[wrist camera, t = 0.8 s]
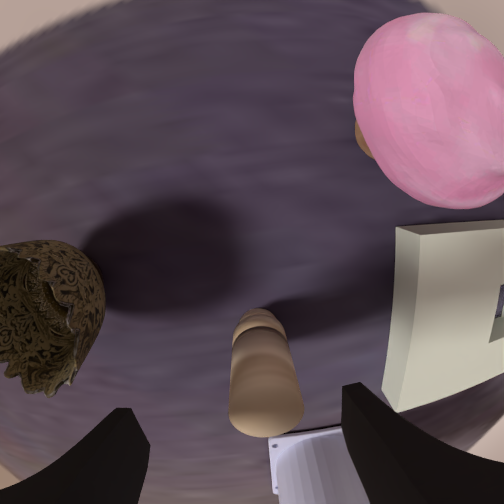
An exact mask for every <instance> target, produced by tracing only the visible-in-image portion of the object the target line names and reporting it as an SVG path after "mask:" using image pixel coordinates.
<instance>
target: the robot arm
mask: <svg viewBox="0 0 504 504" xmlns="http://www.w3.org/2000/svg"><path fill="white" fill-rule="evenodd" d="M268 442H269V453H270V464H271V475H272V487H273V493H274V494H279V504H504V463H503V462H498V461H493V460H489V459H486V458H482V457H479V456H476V455H473V454H470V453H467V452H465V451H462V450H459V449H457V448H455V447H452V446H450V445H448V444H446V443H444V442H442V441H440V440H438V439H436V438H434V437H433V436H431V435H429V434H427V433H426V432H424V431H422V430H421V429H419V428H418V427H416V426H415V425H413V424H412V423H410V422H409V421H407V420H406V419H405V418H403V417H402V416H401V415H399V414H398V413H397V412H395V411H394V410H393V409H391V408H390V407H389V406H388V405H386V404H385V403H384V402H383V401H382V400H380V399H379V398H378V397H377V396H376V395H375V394H373V393H372V392H371V391H370V390H369V389H368V388H367V387H366V386H364V385H363V384H362V383H361V382H358V383H354V384H350V385H345V386H342V417H341V426H337V427H332V428H326V429H320V430H314V431H307V432H300V433H292V434H284V435H277V436H273V437H270V438H269V439H268ZM274 444H276V445H274ZM149 453H150V444H149V442H148V440H147V438H146V436H145V434H144V433H143V431H142V429H141V427H140V425H139V423H138V421H137V419H136V417H135V415H134V413H133V411H132V409H131V408H116V409H114V410H113V411H112V412H111V413H110V414H109V415H108V416H106V417H105V418H104V419H103V420H102V421H101V422H100V423H99V424H98V425H97V426H96V427H95V428H94V429H93V430H92V431H90V432H89V433H88V434H87V435H86V436H85V437H84V438H83V439H82V440H81V441H79V442H78V443H77V444H76V445H75V446H74V447H72V448H71V449H70V450H69V451H68V452H66V453H65V454H64V455H63V456H61V457H60V458H59V459H58V460H56V461H55V462H53V463H52V464H51V465H49V466H48V467H46V468H44V469H43V470H41V471H40V472H38V473H36V474H35V475H33V476H31V477H29V478H27V479H25V480H23V481H21V482H19V483H17V484H14V485H12V486H10V487H7V488H4V489H1V490H0V504H138V501H139V497H140V493H141V490H142V486H143V483H144V479H145V475H146V472H147V468H148V461H149Z"/></svg>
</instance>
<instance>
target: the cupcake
mask: <svg viewBox="0 0 504 504" xmlns="http://www.w3.org/2000/svg"><path fill="white" fill-rule="evenodd" d="M353 105H354V112H355V116H356V122H355V136H356V140H357V143H358V145H359V146H360V148H361V149H362V150H363V151H364V152H365V153H366V154H367V155H368V156H369V157H371V158H372V159H375V160H376V162H377V163H378V165H379V166H380V168H381V169H382V171H383V172H384V173H385V175H386V176H387V177H388V179H389V180H390V181H391V182H392V183H393V184H394V185H396V186H397V187H399V188H400V189H401V190H403V191H404V192H406V193H407V194H408V195H410V196H411V197H413V198H414V199H416V200H418V201H421V202H423V203H425V204H428V205H432V206H436V207H444V208H451V209H471V208H477V207H481V206H483V205H486V204H488V203H490V202H492V201H493V200H495V199H497V198H498V197H499V196H501V195H502V194H503V193H504V57H503V56H502V54H501V53H500V52H499V50H498V49H497V48H496V47H495V46H494V45H493V44H492V43H491V42H490V41H489V40H488V39H487V38H485V37H484V36H482V35H480V34H479V33H478V32H477V31H476V30H475V29H474V28H473V27H472V26H471V25H470V24H469V23H467V22H466V21H464V20H462V19H460V18H457V17H454V16H450V15H446V14H439V13H418V14H413V15H408V16H403V17H399V18H396V19H394V20H392V21H390V22H388V23H386V24H385V25H383V26H382V27H380V28H379V29H377V30H376V31H375V33H374V34H373V35H372V36H371V37H370V38H369V39H368V40H367V42H366V43H365V45H364V47H363V49H362V50H361V52H360V54H359V56H358V59H357V62H356V66H355V72H354V95H353Z"/></svg>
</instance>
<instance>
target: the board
mask: <svg viewBox="0 0 504 504" xmlns="http://www.w3.org/2000/svg"><path fill="white" fill-rule="evenodd" d="M503 284H504V220H489V221H472V222H456V223H441V224H426V225H412V226H397V227H396V248H395V276H394V293H393V306H392V317H391V326H390V335H389V343H388V351H387V358H386V365H385V371H384V377H383V383H382V389H381V390H382V391H383V393H384V395H385V396H386V398H387V399H388V401H389V403H390V404H391V406H392V408H393V409H394V411H395V412H397V413H398V412H402V411H405V410H409V409H412V408H415V407H418V406H421V405H424V404H427V403H430V402H433V401H436V400H439V399H442V398H445V397H447V396H450V395H453V394H455V393H458V392H460V391H463V390H465V389H468V388H470V387H473V386H475V385H477V384H480V383H482V382H484V381H486V380H488V379H491V378H493V377H495V376H497V375H499V374H501V373H503V372H504V305H503V310H502V315H501V317H498V318H495V313H496V308H497V303H498V297H499V291H500V285H503ZM494 318H495V319H494Z"/></svg>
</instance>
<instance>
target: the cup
mask: <svg viewBox="0 0 504 504" xmlns="http://www.w3.org/2000/svg"><path fill="white" fill-rule="evenodd" d="M105 307H106V298H105V291H104V280H103V275H102V272H101V270H100V268H99V266H98V265H97V264H96V262H95V261H94V260H93V259H91V258H90V257H88V256H86V255H84V254H83V253H82V252H81V251H80V250H78V249H77V248H75V247H73V246H71V245H69V244H67V243H64V242H61V241H55V240H36V241H28V242H21V243H15V244H9V245H3V246H0V363H5V362H9V363H8V366H7V368H6V370H5V372H4V376H5V377H7V378H13V377H16V376H17V375H19V376H20V377H21V384H22V387H23V389H24V391H25V392H26V393H27V394H36V393H40V392H42V391H44V394H45V396H46V397H48V398H50V397H52V396H54V395H55V394H56V392H57V390H58V389H59V388H60V386H61V385H63V384H69V385H71V384H72V383H73V380H74V378H75V376H76V374H77V372H78V370H79V369H80V367H81V365H82V363H83V362H84V360H85V358H86V356H87V354H88V353H89V351H90V349H91V347H92V345H93V344H94V342H95V340H96V338H97V336H98V334H99V331H100V329H101V326H102V323H103V320H104V316H105ZM6 365H7V364H6ZM20 377H19V378H20ZM68 382H69V383H68Z"/></svg>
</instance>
